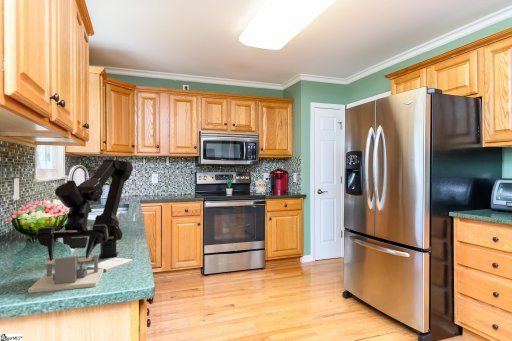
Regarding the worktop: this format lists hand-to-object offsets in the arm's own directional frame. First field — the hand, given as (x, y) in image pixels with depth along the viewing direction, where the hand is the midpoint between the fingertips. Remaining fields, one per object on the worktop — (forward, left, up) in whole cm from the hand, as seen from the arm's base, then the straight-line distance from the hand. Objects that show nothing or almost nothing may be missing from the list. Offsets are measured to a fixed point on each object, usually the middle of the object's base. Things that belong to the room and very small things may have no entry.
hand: (68, 258), depth 91 cm
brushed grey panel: (-5, 0, -1) cm, 5 cm away
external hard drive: (-15, +9, -8) cm, 19 cm away
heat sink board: (-1, 0, -7) cm, 7 cm away
